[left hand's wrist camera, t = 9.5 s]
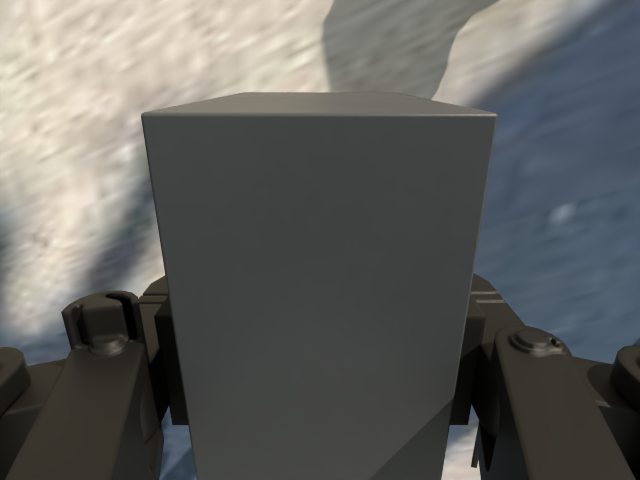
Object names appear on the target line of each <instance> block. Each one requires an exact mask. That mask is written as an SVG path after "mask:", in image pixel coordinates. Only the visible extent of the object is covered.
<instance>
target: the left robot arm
mask: <svg viewBox="0 0 640 480" xmlns="http://www.w3.org/2000/svg"><path fill="white" fill-rule="evenodd" d="M61 313H62V316H63V320H64V324H65V328H66V331H67V335H68V339H69V343H70V346H71V351H70V353H69V355H68V357H67V358H66V359H62V360H58V361H53V362H48V363H42V364H37V365H32V366H27V364H26V361H25V358H24V355H23V353H22V352H21V351H20V350H18V349H17V348H10V347H0V480H159V476H160V468H161V460H162V452H163V444H164V437H163V430H162V425H161V421H162V419H163V417H164V415H165V413H166V411H167V408H168V406H169V408H170V413H171V419H172V425H188V419H187V412H186V405H185V399H184V392H183V386H182V379H181V373H180V366H179V360H178V353H177V347H176V340H175V334H174V327H173V321H172V314H171V308H170V301H169V295H168V288H167V282H166V275H165V276H163V277H162V278H160V279H158V280H156V281H155V282H153V283H151V285H150V286H149V287H148V288H147V289H146V291H145V292H144V293H143V296H141V297H140V298H139V299H138V297H137V296H136V295H134V294H133V293H131V292H126V291H105V292H100V293H95V294H92V295H89V296H86V297H83V298H80V299H78V300H76V301H75V302H73V303H71V304H69V305H68V306H67V307H66V308H65V309H64V310H63V311H62V312H61ZM471 404H472V406H473V408H474V410H475V412H476V414H477V416H478V419H479V425H478V430H477V436H476V441H475V446H474V452H473V457H472V464H471V467H474V468H477V464H478V459H479V467H480V475H481V480H640V345H632V346H625V347H623V348H622V349H620V350H619V351H618V353H617V356H616V359H615V362H614V365H613V364H608V363H602V362H597V361H592V360H587V359H581V358H577V357H573V356H572V354H571V352H570V350H569V349H568V348H567V346H566V345H565V344H564V343H563V342H562V341H561V340H560V339H558V338H557V337H555V336H554V335H552V334H550V333H548V332H545V331H543V330H540V329H538V328H533V327H529V326H525V325H524V323H523V322H522V321H521V320H520V319H519V317H518V316H517V315H516V314H515V313H514V311H513V310H512V309H511V308H510V307H509V305H508V304H507V303H505V301H504V299H503V298H502V297H501V296H500V295H499V294H498V292H497V291H496V290H495V289H494V287H493V286H492V285H491V284H490V283H489V282H488V281H486V280H485V279H483V278H481V277H479V276H478V275H476V274H473V278H472V285H471V291H470V298H469V304H468V311H467V317H466V323H465V330H464V336H463V343H462V349H461V355H460V362H459V368H458V375H457V381H456V387H455V394H454V400H453V407H452V413H451V419H450V425H468V421H469V415H470V409H471Z"/></svg>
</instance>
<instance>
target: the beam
mask: <svg viewBox="0 0 640 480" xmlns="http://www.w3.org/2000/svg"><path fill="white" fill-rule="evenodd" d="M497 118H498V116H497V114H496V113H492V112H487V111H482V110H477V109H472V108H467V107H462V106H458V105H453V104H448V103H443V102H438V101H433V100H428V99H423V98H418V97H413V96H408V95H403V94H398V93H283V92H244V93H239V94H234V95H229V96H224V97H219V98H214V99H209V100H204V101H199V102H194V103H189V104H184V105H179V106H174V107H169V108H164V109H159V110H154V111H149V112H144V113H142V114H141V119H142V125H143V132H144V138H145V145H146V152H147V158H148V165H149V171H150V178H151V184H152V191H153V197H154V204H155V210H156V217H157V223H158V230H159V236H160V243H161V249H162V256H163V262H164V269H165V275H166V282H167V288H168V295H169V301H170V308H171V314H172V321H173V327H174V334H175V340H176V347H177V353H178V360H179V366H180V373H181V379H182V386H183V392H184V399H185V405H186V412H187V419H188V425H189V432H190V438H191V445H192V451H193V458H194V464H195V471H196V477H197V480H441V477H442V471H443V464H444V458H445V451H446V445H447V439H448V432H449V426H450V419H451V413H452V407H453V400H454V394H455V387H456V381H457V375H458V368H459V362H460V355H461V349H462V343H463V336H464V330H465V323H466V317H467V311H468V304H469V298H470V291H471V285H472V278H473V272H474V266H475V259H476V253H477V246H478V240H479V234H480V227H481V221H482V214H483V208H484V202H485V195H486V189H487V182H488V176H489V170H490V163H491V157H492V150H493V144H494V138H495V131H496V125H497Z"/></svg>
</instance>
